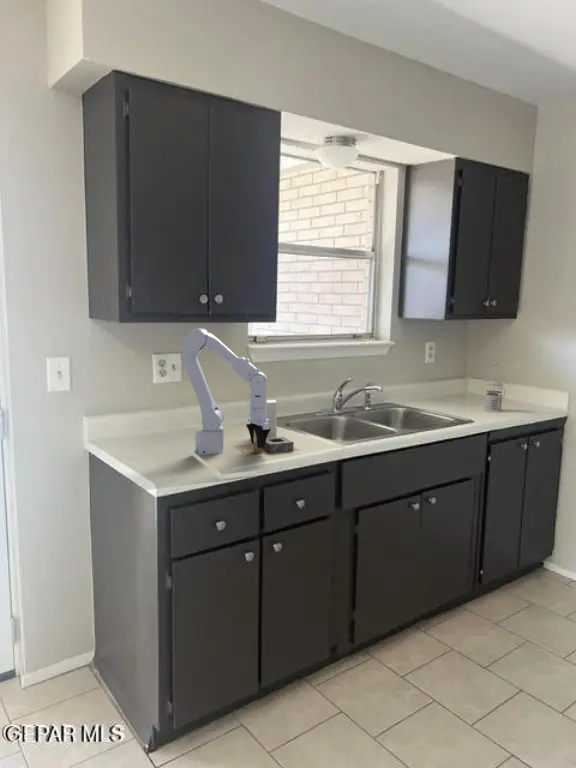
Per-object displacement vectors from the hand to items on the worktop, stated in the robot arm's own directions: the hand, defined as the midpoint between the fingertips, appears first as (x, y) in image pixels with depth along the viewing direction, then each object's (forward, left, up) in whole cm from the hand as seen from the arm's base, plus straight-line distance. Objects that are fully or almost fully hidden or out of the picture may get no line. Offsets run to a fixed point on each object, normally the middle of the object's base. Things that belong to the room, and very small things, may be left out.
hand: (258, 445), depth 205 cm
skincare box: (+11, +19, -4) cm, 22 cm away
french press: (+145, +37, -4) cm, 150 cm away
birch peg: (0, 0, -2) cm, 2 cm away
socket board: (+5, +4, -3) cm, 7 cm away
